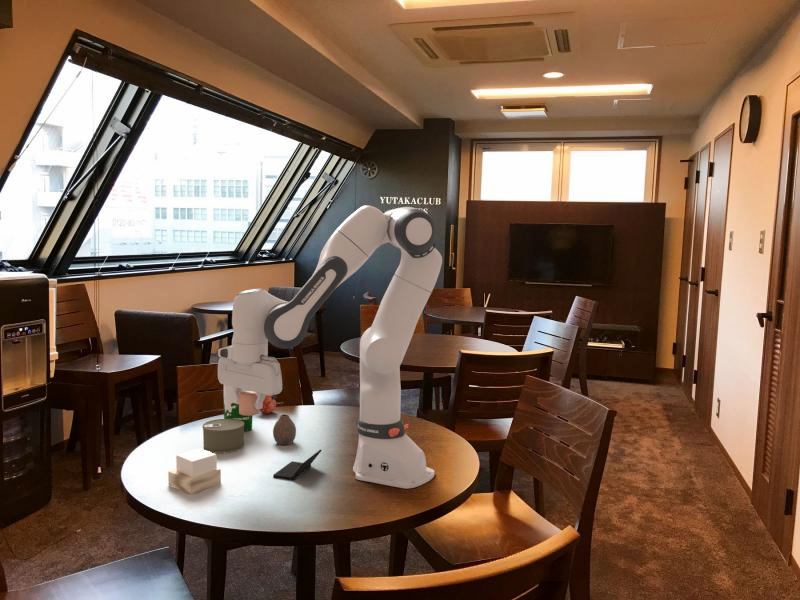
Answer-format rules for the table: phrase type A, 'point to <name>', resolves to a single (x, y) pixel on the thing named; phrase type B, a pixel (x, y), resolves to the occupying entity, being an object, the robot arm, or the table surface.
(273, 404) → the pomegranate
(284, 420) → the vase
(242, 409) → the peach rounded dome
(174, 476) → the tower base
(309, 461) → the handheld gaming console
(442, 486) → the table surface
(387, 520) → the table surface
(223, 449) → the can
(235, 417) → the milk carton
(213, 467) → the tower middle
